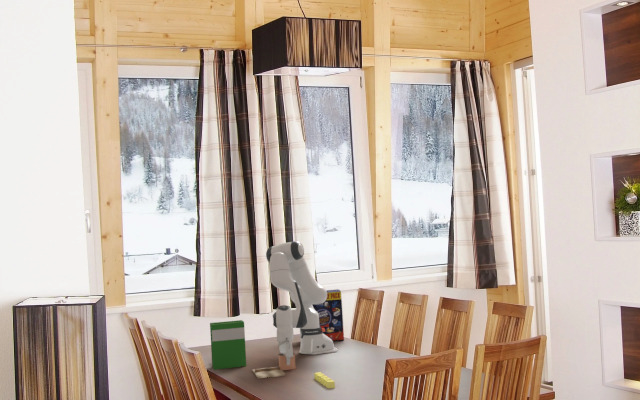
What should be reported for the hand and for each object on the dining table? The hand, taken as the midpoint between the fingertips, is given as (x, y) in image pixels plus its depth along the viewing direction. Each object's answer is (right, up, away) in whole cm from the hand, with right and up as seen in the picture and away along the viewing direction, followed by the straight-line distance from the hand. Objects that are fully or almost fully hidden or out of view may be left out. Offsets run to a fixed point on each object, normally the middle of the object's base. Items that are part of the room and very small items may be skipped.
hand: (286, 363), depth 397 cm
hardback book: (-32, -5, +15) cm, 36 cm away
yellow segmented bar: (+21, -2, -36) cm, 42 cm away
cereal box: (+19, -3, +81) cm, 83 cm away
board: (-9, -3, -8) cm, 13 cm away
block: (0, -3, 0) cm, 3 cm away
